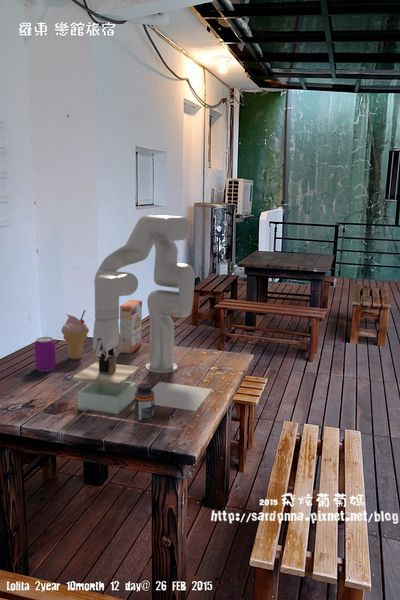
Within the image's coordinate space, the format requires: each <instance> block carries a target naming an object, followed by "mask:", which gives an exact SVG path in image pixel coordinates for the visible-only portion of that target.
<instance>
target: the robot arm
mask: <svg viewBox="0 0 400 600" xmlns="http://www.w3.org/2000/svg"><path fill="white" fill-rule="evenodd" d="M191 229H192V226H191V222H190V220H189V219H188V218H187V217H186V216H182V215H181V216H178V215H161V214H160V215H159V214H157V215H143V216H141V217H140V218H139V219H138V220H137V222H136V224H135V226H134V228H133V229H132V231H131V233H130V235H129V237H128V239H127V241H126V242H125V244H124V245H123V246H120V247H119V248H118V249H116V250H115V251H113V252H112V253H110V254H109V255H107V256H106V257H105V258H104V259H103V261H102V262H101V264H100V265H99V267H98V269H97V272H96V273H95V276H94V281H93V283H94V319H95V320H94V324H93V335H92V350H93V351H95V353H94V354H95V356H96V357H97V359H98V360H97V361H98V362H99V371H100V372H109V360H108V355H112V356H116V355H117V347H118V345H120V322H119V320H120V297H123V296H124V297H126V296H127V297H128V296H131V295H133V294H134V293H135V292H136V291H137V290H138V287H139V281H138V278H137V276H136V275H135V274H133V273H131V272H127V271H126V272H125V271H119V270H120V269H122V268H124V267H126V266H130V265H133V264H136V263H139V262H142V261H144V260H146V259H147V258H148V257H149V255H150V252H151V250H152V247H153V246H154V248H155V249H154V250H155V251H154V252H155V253H154V254H155V257H154V268H153V281H154V283H155V285H157V286H159V287H164V288H174V289H178V291H173V290H165V289H156V290H153V291H151V292H150V293H149V294H148V296H147V300H146V301H147V309H148V316H149V363H146V364H145V370H147V372H151V373H155V374H169V373H172V372H173V373H174V372H176V371H177V370H178V365H177V364H176V363H175V362H174V361H175V352H174V351H175V350H174V349H175V323H174V321H173V318H172V317H176V318H187V317H189V316H190V315H191V313H192V310H193V304H194V295H195V294H194V293H195V292H194V291H195V282H196V281H195V279H196V278H195V277H196V274H195V270H194V267H192V265H190V264H188V263H182V262H178V253H179V252H178V251H179V250H178V245H177V244H176V242H177V241H184V240H185V239H188V237H189V235H190V234H191V231H192V230H191Z"/></svg>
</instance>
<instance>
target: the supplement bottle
mask: <svg viewBox="0 0 400 600" xmlns="http://www.w3.org/2000/svg"><path fill="white" fill-rule="evenodd" d="M134 419H135V420H136V422H137V423H140V424H148V423H149V422H153V420H154V419H155V405H154V392H153V391H152V384H151V383H147V382H142V383H139V384H138V385H137V390H136V393H135V400H134Z"/></svg>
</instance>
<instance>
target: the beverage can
mask: <svg viewBox="0 0 400 600" xmlns="http://www.w3.org/2000/svg"><path fill="white" fill-rule="evenodd" d="M35 340H36V341H35V343H34V368H35V369H36V370H37V371H39V372H51V371H53V370H54V369H55V368H56V366H57V362H56V361H57V360H56V358H57V357H56V354H57V353H56V343H55V340H54V337H50V336H41V337H37V338H36V339H35Z"/></svg>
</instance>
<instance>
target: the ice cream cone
mask: <svg viewBox="0 0 400 600" xmlns="http://www.w3.org/2000/svg"><path fill="white" fill-rule="evenodd" d="M85 313H86V309H84V310H83V311H82V315H81V317H80V319H79V318H78V317H76V316H75V315H71V314H68V313H67V314H66V316H67V317H68V318H67V319H66V321H65V323H64V325H63V326H62V328H61V333H62V335H63V339H64V341H65V342H66V344H67V350H68V351H67V352H68V356H69V358H70V359H71V360H81V359H82V357H83V354H84V344H85V340H86V339H87V338H88V333H89V332H90V329H89V327H88V326H87V324H86V323H85V320H84V319H83V318H84V317H85Z"/></svg>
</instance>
